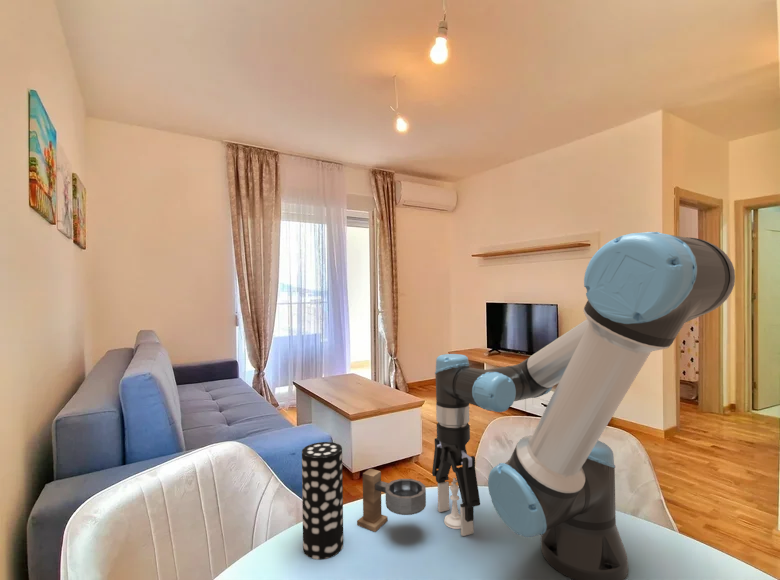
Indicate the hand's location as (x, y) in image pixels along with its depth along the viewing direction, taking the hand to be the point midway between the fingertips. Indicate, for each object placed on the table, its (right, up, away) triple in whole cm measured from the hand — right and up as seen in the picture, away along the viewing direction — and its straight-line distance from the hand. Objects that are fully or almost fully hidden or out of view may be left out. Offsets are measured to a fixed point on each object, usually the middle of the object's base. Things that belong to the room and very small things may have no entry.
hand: (454, 521), depth 88 cm
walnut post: (-19, -1, 0) cm, 19 cm away
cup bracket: (-13, +6, -3) cm, 15 cm away
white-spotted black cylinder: (-29, -1, -8) cm, 30 cm away
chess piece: (0, 0, 0) cm, 0 cm away
